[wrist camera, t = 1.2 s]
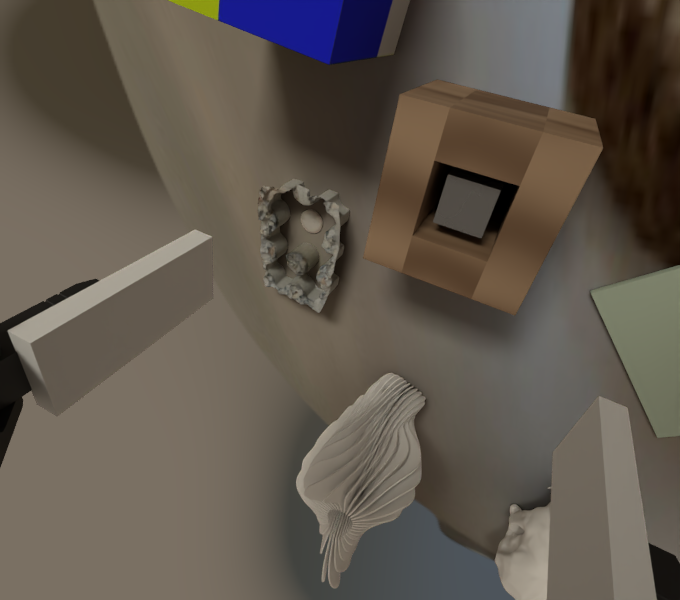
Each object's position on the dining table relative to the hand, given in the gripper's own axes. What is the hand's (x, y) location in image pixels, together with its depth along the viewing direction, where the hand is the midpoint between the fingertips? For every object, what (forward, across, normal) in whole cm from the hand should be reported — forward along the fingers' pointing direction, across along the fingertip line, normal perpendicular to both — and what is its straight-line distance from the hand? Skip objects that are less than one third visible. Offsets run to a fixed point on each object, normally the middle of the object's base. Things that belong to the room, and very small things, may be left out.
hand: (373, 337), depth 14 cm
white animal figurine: (+21, +18, -29) cm, 40 cm away
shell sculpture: (+21, 0, -23) cm, 31 cm away
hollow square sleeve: (+21, 0, 0) cm, 21 cm away
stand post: (+21, 0, 0) cm, 21 cm away
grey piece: (+21, -12, -10) cm, 26 cm away
